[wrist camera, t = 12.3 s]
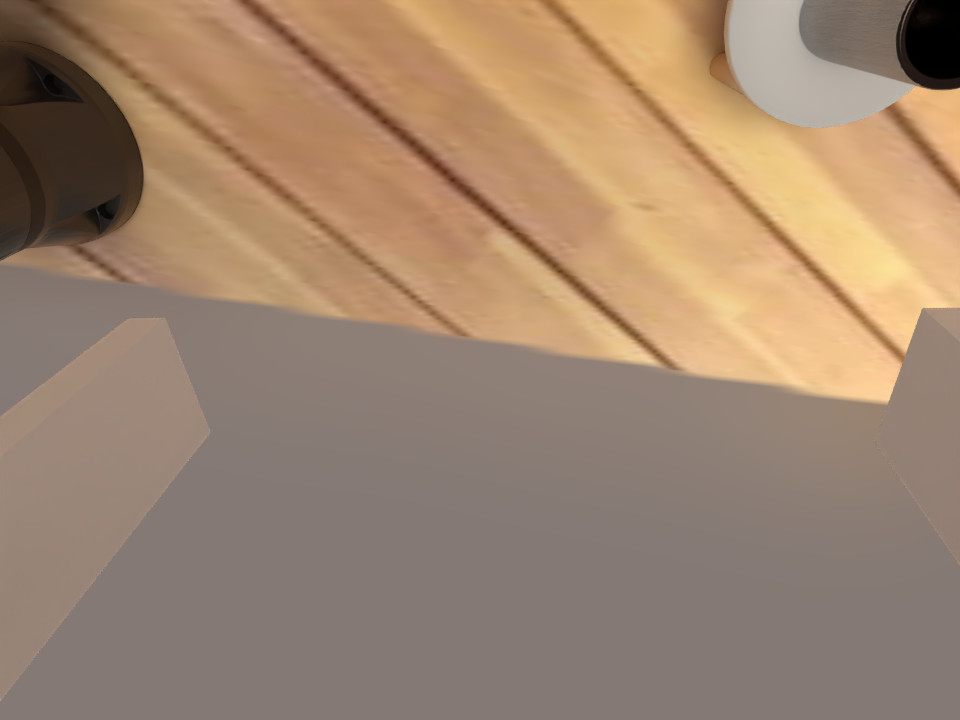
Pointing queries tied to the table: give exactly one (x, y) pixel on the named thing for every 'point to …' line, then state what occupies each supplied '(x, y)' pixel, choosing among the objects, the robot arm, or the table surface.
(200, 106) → the table surface
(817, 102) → the stool
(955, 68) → the grey tube
